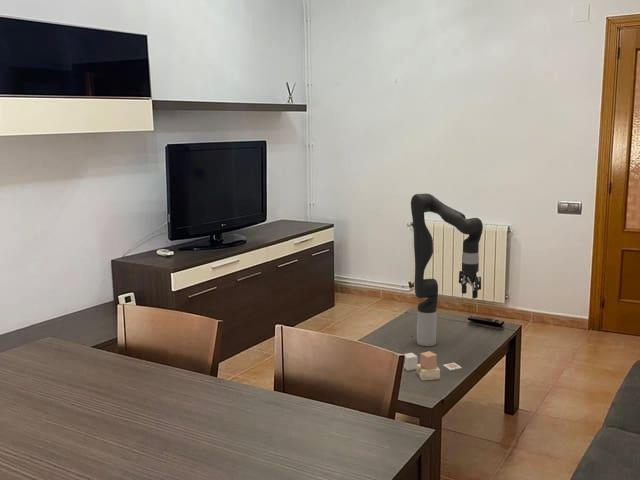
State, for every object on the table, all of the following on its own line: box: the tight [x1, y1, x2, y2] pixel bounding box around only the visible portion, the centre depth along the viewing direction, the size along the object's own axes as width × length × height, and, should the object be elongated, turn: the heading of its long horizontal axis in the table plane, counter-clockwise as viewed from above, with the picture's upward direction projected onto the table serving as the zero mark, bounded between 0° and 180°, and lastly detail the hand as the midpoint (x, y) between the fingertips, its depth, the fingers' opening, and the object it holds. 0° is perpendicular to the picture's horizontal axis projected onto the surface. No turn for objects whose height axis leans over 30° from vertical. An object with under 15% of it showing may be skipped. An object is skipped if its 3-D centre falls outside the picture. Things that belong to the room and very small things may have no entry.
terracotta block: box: [419, 350, 438, 370], centre depth 271 cm, size 5×5×6 cm
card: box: [442, 362, 462, 371], centre depth 282 cm, size 6×6×1 cm
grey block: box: [403, 352, 419, 372], centre depth 281 cm, size 5×5×6 cm
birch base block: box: [416, 363, 441, 381], centre depth 272 cm, size 8×8×4 cm
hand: (469, 295), depth 287 cm, fingers open, 8 cm apart
